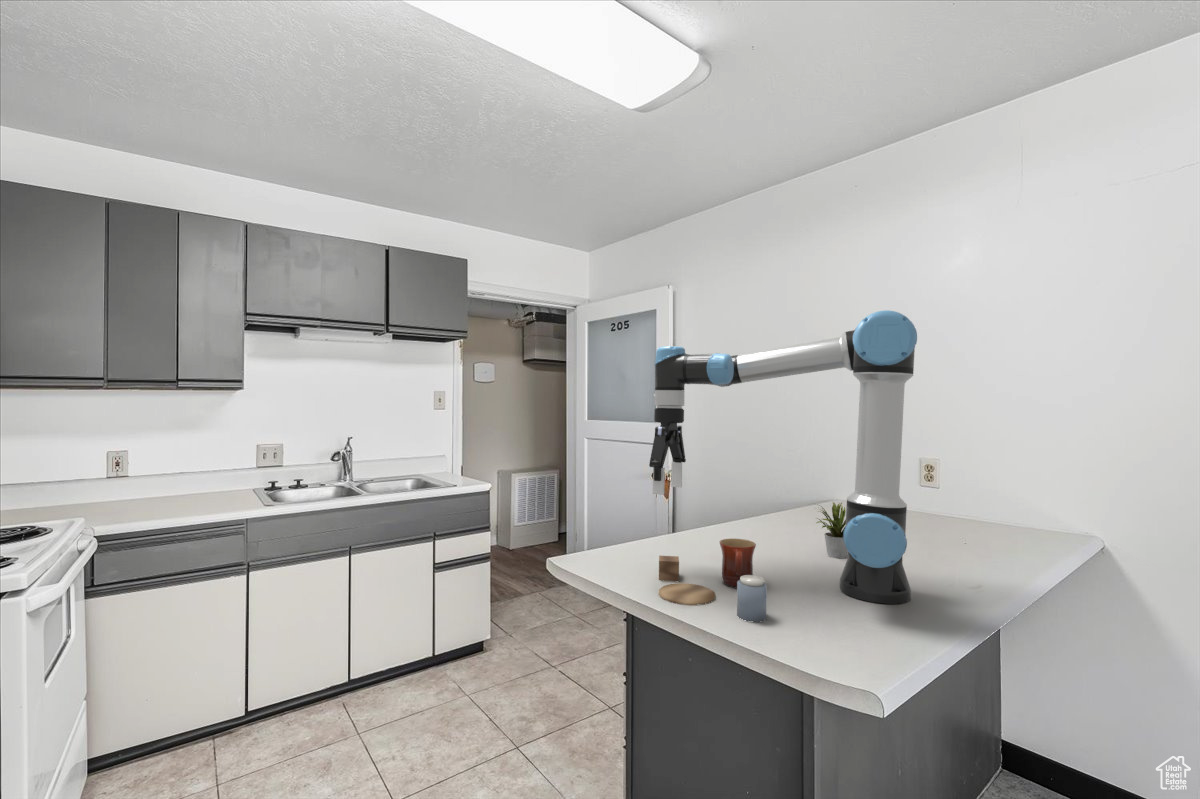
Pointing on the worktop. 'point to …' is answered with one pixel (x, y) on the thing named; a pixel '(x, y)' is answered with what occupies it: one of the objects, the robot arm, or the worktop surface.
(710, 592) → the trivet
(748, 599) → the jar
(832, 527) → the house plant
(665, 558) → the block
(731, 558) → the mug
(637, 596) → the worktop surface
